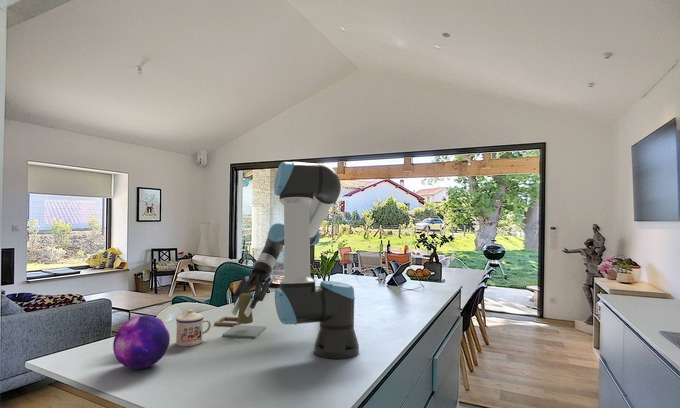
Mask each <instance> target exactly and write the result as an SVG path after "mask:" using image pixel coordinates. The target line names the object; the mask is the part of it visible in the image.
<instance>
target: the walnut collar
mask: <svg viewBox="0 0 680 408" xmlns="http://www.w3.org/2000/svg"><path fill="white" fill-rule="evenodd" d="M237 320H238V316H236V317H235V316H223V317H221V318H219V319H217V320H216V321H215V322H214V325H213V326H214V327H215V326H218V327H233V326H235V325H241V324H240V323H237ZM224 321H225V322H224ZM226 321H232V322H226ZM233 321H236V322H233Z"/></svg>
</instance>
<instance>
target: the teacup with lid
mask: <svg viewBox="0 0 680 408" xmlns="http://www.w3.org/2000/svg"><path fill="white" fill-rule="evenodd" d="M186 311H187V312H185V313H183V314H181V315H179V316H177V317H176V319H175V321H176V334H175V335H176V336H175V339H176V340H175V341H176V342H175V344H176V345H177V346H179V347H193V346H197V345H199V344H201V343H202V342H203V335H205V334H207V333H209V332H210V329H211V328H212V323H211V321H210V320H208V319H204V315H202V314H200V313H197V312H194V310H193V308H192V309H187V310H186ZM203 323H208V326H207V329H205V330H204V331H203V326H204V325H203Z"/></svg>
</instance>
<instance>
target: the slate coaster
mask: <svg viewBox="0 0 680 408" xmlns="http://www.w3.org/2000/svg"><path fill="white" fill-rule="evenodd" d="M266 329H267V326H263V325H247V324H239V325H235V326H231V327H230V328H229V329H228V330H226V331H225V332H224V333H222V335H221V336H222V337H223V338H224V337H225V338H243V339H257V338H258V337H259V336H260V335H261V334H262V333H263V332H264V331H265V330H266Z"/></svg>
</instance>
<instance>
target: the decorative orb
mask: <svg viewBox="0 0 680 408" xmlns="http://www.w3.org/2000/svg"><path fill="white" fill-rule="evenodd" d="M160 319H161V318H159V317H156V316H153V315H146V314H145V315H138V316H135V317H133V318H130V319H129V320H128V321H126V322H124V323H123V324H122V325H121V326H120V327H119V329H118V331H116V333H115V335H114V338H113V344H112V350H113V354H114V356H115V358H116V360H117V361H118V362H119V363H120V364H121V365H123V366H124V367H125V368H128V369H135V370H142V369H146V368H149V367H151V366H154V365H155V364H156V363H158V362H159V361H160V360H161V359H162V358H163V357H164V356H165V354H167V353H166V352H167V350H168V349H169V346H170V340H171V339H170V338H171V336H170V330H169V329H168V327H167V324H166V323H165V322H164V321H163V320H162V321H161V320H160Z"/></svg>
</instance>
